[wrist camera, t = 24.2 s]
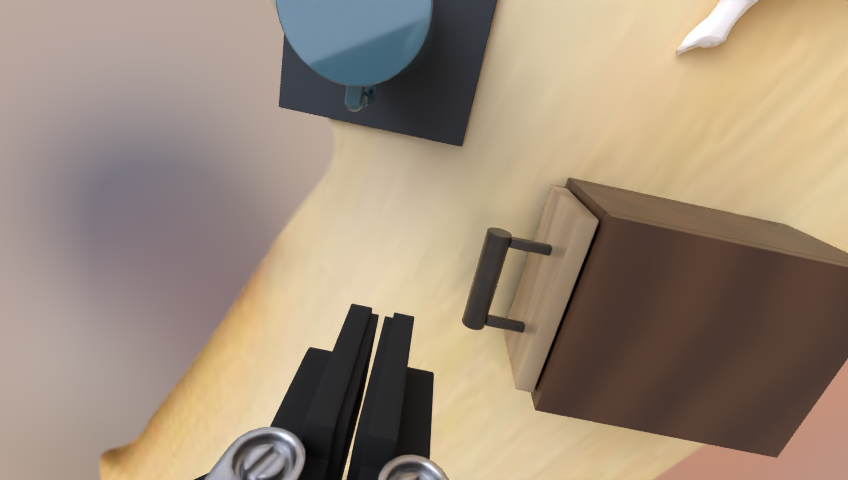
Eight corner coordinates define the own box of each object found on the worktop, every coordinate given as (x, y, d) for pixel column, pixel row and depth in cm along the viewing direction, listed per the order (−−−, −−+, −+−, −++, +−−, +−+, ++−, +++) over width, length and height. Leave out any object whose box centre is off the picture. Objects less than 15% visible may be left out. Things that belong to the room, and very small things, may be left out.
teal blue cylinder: (344, -44, 26) (281, -112, 16) (447, -20, 27) (448, -73, 16) (328, 89, 29) (267, 102, 19) (421, 110, 29) (409, 133, 19)
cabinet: (514, 333, 37) (534, 410, 28) (568, 177, 31) (611, 216, 23) (704, 371, 37) (777, 458, 29) (787, 224, 32) (904, 279, 24)
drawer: (451, 320, 35) (453, 377, 29) (492, 171, 31) (504, 200, 24) (685, 368, 36) (736, 433, 30) (759, 229, 31) (840, 272, 25)
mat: (298, -119, 26) (295, -123, 25) (512, -68, 26) (514, -71, 25) (281, 106, 30) (278, 106, 30) (461, 145, 31) (462, 146, 30)
